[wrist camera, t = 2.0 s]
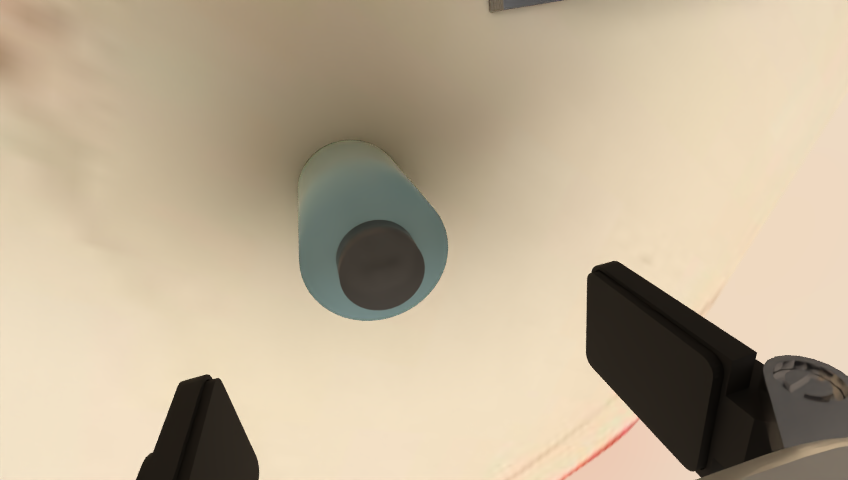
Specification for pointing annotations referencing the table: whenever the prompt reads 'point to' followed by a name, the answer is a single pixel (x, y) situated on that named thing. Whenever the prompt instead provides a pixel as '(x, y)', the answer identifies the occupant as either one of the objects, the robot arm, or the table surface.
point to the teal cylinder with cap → (366, 233)
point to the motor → (514, 3)
